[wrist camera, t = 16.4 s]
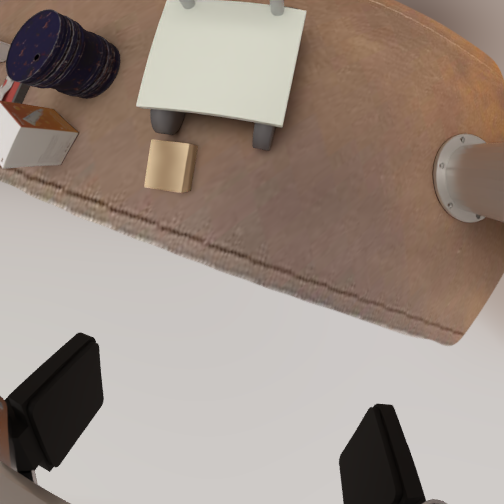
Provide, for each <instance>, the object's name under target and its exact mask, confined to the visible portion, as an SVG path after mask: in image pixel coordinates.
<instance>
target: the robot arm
mask: <svg viewBox="0 0 504 504" xmlns="http://www.w3.org/2000/svg"><path fill="white" fill-rule="evenodd" d="M460 139H461V140H460ZM439 164H440V167H439ZM433 179H434V187H435V191H436V194H437V197H438V199H439V201H440V203H441V205H442V206H443V208H444V209H445V210H446V211H447V213H449V214H450V215H451V216H452V217H454V218H456V219H458V220H460V221H463V222H469V223H473V222H478V221H480V220H483V219H484V218H486V217H488V218H491V219H494V220H497V221H500V222H503V223H504V142H495V143H486V142H485V141H484V140H482V139H481V138H479V137H477V136H475V135H472V134H459V135H456V136H453V137H451V138H449V139H448V140H447V141H446V142H445V143H444V144H443V145H442V146H441V148H440V149H439V151H438V153H437V156H436V159H435V163H434V170H433ZM100 368H101V367H100V354H99V345H98V344H97V343H96V341H95V339H94V338H93V337H90V336H88V335H86V334H83V333H78V334H76V335H75V336H74V337H73V338H72V339H71V340H69V341H68V342H67V343H66V344H65V345H64V346H62V347H61V348H60V349H59V350H58V351H57V352H56V353H55V354H53V355H52V356H51V357H50V358H49V359H48V360H47V361H46V362H45V363H43V364H42V365H41V366H40V367H39V368H38V369H37V370H36V371H35V372H33V373H32V374H31V375H30V376H29V377H28V378H27V379H26V380H25V381H24V382H23V383H22V384H20V385H19V386H18V387H17V388H16V389H15V390H14V391H13V392H12V393H11V394H10V395H9V396H8V398H6V399H5V400H3V398H2V397H1V396H0V504H70V503H68V502H66V501H65V500H63V499H61V498H59V497H57V496H55V495H54V494H52V493H50V492H49V491H47V490H45V489H43V488H42V487H40V486H38V485H37V480H36V474H35V469H36V468H37V467H38V465H39V466H41V467H43V468H45V469H46V470H48V471H49V472H50V471H51V470H52V468H53V467H58V466H59V465H60V464H61V462H62V461H63V459H64V458H65V457H66V455H67V454H68V452H69V451H70V449H71V448H72V447H73V445H74V444H75V442H76V441H77V439H78V438H79V437H80V435H81V434H82V432H83V431H84V430H85V428H86V427H87V426H88V424H89V423H90V421H91V420H92V418H93V417H94V416H95V414H96V413H97V411H98V410H99V409H100V408H101V406H102V404H103V399H104V398H103V389H102V379H101V369H100ZM339 466H340V474H341V483H342V491H343V501H344V504H446V503H445V502H444V501H441V500H435V499H432V500H428V501H426V499H425V496H424V493H423V490H422V486H421V483H420V480H419V477H418V474H417V470H416V467H415V465H414V461H413V458H412V456H411V453H410V450H409V447H408V445H407V443H406V439H405V437H404V434H403V431H402V428H401V426H400V423H399V420H398V418H397V415H396V412H395V409H394V407H393V406H392V405H386V404H376V405H374V407H370V408H369V409H368V411H367V413H366V414H365V416H364V418H363V420H362V421H361V423H360V425H359V426H358V428H357V430H356V431H355V433H354V435H353V436H352V438H351V439H350V441H349V443H348V444H347V446H346V447H345V449H344V450H343V452H342V454H341V456H340V459H339Z"/></svg>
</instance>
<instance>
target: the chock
mask: <svg viewBox="0 0 504 504" xmlns="http://www.w3.org/2000/svg"><path fill="white" fill-rule="evenodd" d="M197 149H198V146H196V145H192V144H187V143H179V142H170V141H161V140H151V146H150V152H149V158H148V164H147V171H146V178H145V186H144V187H147V188H153V189H160V190H166V191H172V192H178V193H184V192H188V191H191V184H192V178H193V172H194V166H195V160H196V154H197Z"/></svg>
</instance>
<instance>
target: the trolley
mask: <svg viewBox="0 0 504 504" xmlns="http://www.w3.org/2000/svg"><path fill="white" fill-rule="evenodd" d="M305 17H306V11H304V10H299V9H297V8H291V7H285V6H284V0H270V5H266V4H258V3H248V2H237V1H220V0H167V2H166V4H165V7H164V10H163V13H162V16H161V19H160V22H159V25H158V28H157V31H156V34H155V37H154V40H153V44H152V47H151V50H150V54H149V57H148V61H147V64H146V68H145V72H144V76H143V79H142V83H141V87H140V91H139V96H138V100H137V104H136V106H137V107H140V108H145V109H151V124H152V127H153V129H154V131H155V132H157V133H162V134H170V135H173V134H175V133H176V132H177V131H178V130H179V128H180V126H181V124H182V122H183V119H184V115H185V112H188V113H196V114H204V115H211V116H218V117H225V118H231V119H238V120H244V121H249V122H255V126H254V133H253V148H257V149H262V150H267V151H269V150H270V147H271V144H272V140H273V136H274V132H275V127H281V128H282V127H283V123H284V118H285V113H286V108H287V104H288V99H289V94H290V89H291V85H292V80H293V75H294V70H295V66H296V61H297V56H298V51H299V46H300V42H301V37H302V32H303V27H304V22H305Z"/></svg>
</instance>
